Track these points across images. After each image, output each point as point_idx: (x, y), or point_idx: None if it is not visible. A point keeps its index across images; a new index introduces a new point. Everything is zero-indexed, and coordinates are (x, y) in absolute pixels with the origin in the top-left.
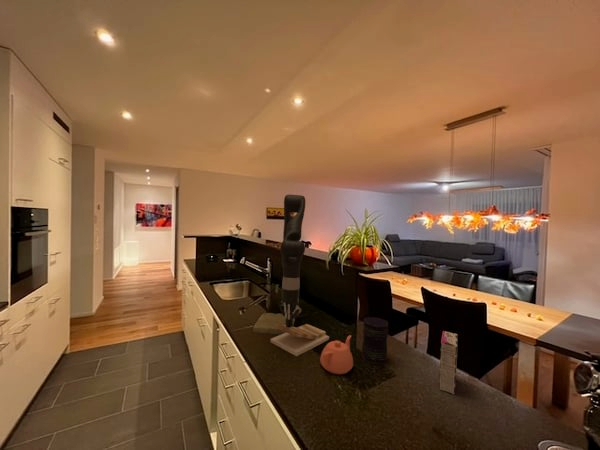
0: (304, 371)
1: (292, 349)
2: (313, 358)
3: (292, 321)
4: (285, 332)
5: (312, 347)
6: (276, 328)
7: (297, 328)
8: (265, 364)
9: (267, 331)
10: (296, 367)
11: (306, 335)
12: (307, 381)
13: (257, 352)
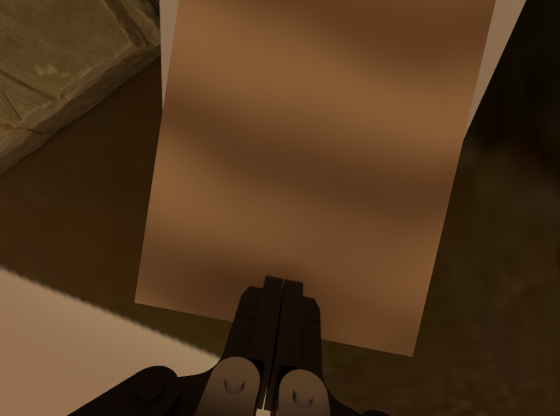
0: (486, 336)
1: None
2: (502, 229)
3: (321, 353)
4: (145, 56)
5: None
6: (67, 100)
7: (235, 6)
8: None
9: (45, 135)
10: (437, 330)
11: (447, 179)
12: (519, 375)
13: (211, 321)
